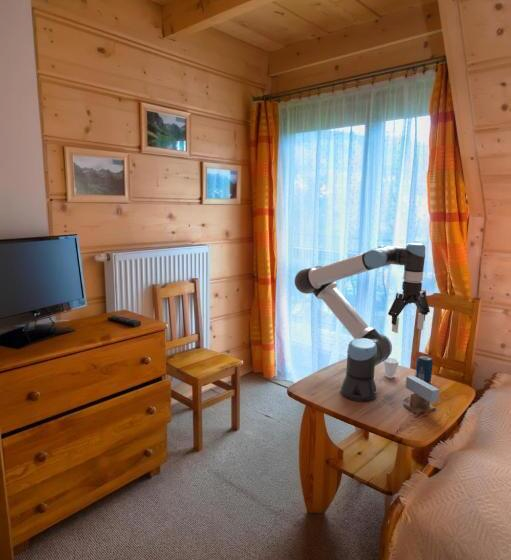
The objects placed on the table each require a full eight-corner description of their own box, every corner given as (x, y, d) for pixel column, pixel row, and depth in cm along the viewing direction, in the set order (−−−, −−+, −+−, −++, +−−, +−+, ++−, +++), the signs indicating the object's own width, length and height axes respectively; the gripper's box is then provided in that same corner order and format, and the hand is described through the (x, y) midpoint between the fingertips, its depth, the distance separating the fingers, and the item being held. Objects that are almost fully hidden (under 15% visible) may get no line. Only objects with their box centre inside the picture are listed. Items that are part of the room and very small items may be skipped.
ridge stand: (416, 414, 169) (417, 400, 168) (403, 406, 175) (405, 392, 174) (435, 409, 173) (437, 396, 172) (422, 402, 179) (423, 388, 178)
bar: (431, 403, 166) (432, 390, 165) (405, 387, 178) (406, 376, 177) (437, 401, 167) (439, 389, 166) (412, 386, 180) (413, 375, 179)
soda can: (428, 379, 202) (430, 355, 200) (432, 385, 195) (435, 360, 193) (412, 378, 203) (415, 354, 200) (416, 384, 196) (419, 359, 193)
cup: (387, 379, 200) (388, 363, 199) (376, 371, 210) (377, 355, 208) (400, 378, 202) (402, 362, 200) (388, 370, 211) (390, 354, 210)
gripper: (428, 277, 185) (423, 324, 189) (382, 280, 175) (377, 330, 179) (442, 281, 178) (436, 330, 182) (394, 284, 168) (389, 336, 173)
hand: (407, 330), depth 181 cm, fingers open, 13 cm apart
